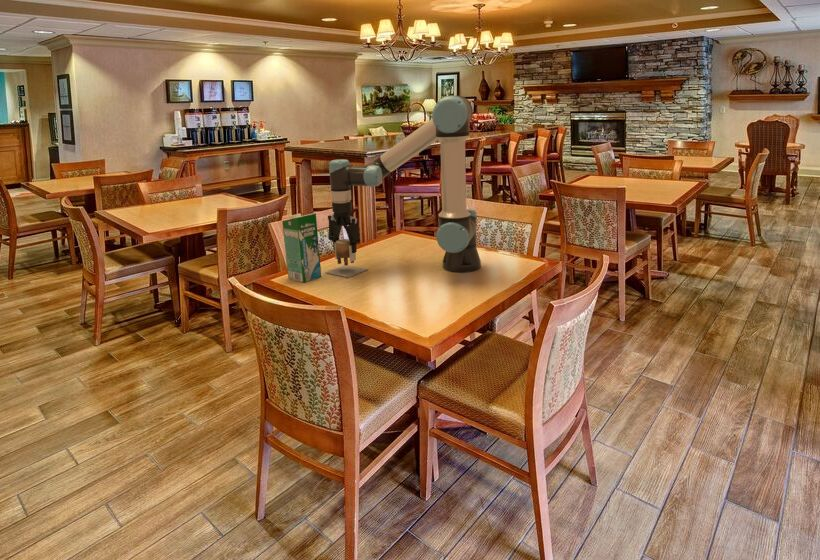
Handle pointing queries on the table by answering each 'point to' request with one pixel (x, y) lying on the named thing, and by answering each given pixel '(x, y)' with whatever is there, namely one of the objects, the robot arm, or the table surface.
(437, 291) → the table surface
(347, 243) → the footstool
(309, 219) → the milk carton
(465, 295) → the table surface
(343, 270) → the mat
